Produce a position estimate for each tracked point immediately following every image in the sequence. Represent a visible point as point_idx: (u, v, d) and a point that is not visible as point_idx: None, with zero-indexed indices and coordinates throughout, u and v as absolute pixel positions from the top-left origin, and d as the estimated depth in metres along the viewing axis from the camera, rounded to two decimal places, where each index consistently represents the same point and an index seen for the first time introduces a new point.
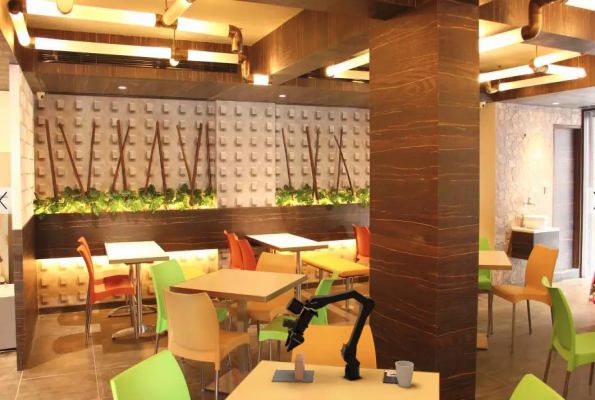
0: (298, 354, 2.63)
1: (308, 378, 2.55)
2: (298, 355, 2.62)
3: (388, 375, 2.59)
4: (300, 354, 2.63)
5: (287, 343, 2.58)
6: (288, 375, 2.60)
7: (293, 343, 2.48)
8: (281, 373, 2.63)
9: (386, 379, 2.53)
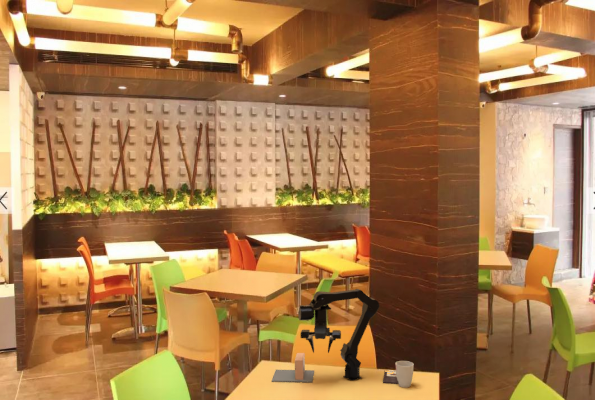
0: (298, 354, 2.63)
1: (308, 378, 2.55)
2: (298, 355, 2.62)
3: (388, 375, 2.59)
4: (300, 354, 2.63)
5: (313, 348, 2.55)
6: (288, 375, 2.60)
7: None
8: (281, 373, 2.63)
9: (386, 379, 2.53)
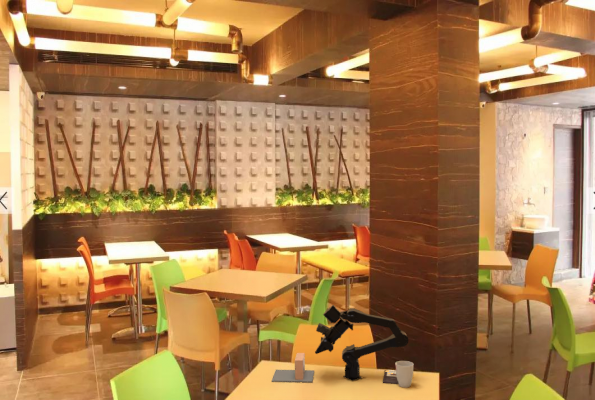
0: (298, 354, 2.63)
1: (308, 378, 2.55)
2: (298, 355, 2.62)
3: (388, 375, 2.59)
4: (300, 354, 2.63)
5: None
6: (288, 375, 2.60)
7: (322, 346, 2.57)
8: (281, 373, 2.63)
9: (386, 379, 2.53)
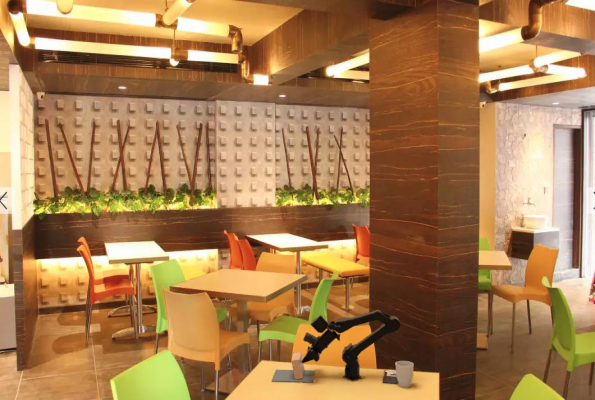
0: (295, 354, 2.63)
1: (308, 378, 2.55)
2: (295, 355, 2.62)
3: (388, 375, 2.59)
4: (297, 354, 2.63)
5: None
6: (288, 375, 2.60)
7: (309, 356, 2.58)
8: (281, 373, 2.63)
9: (386, 379, 2.53)
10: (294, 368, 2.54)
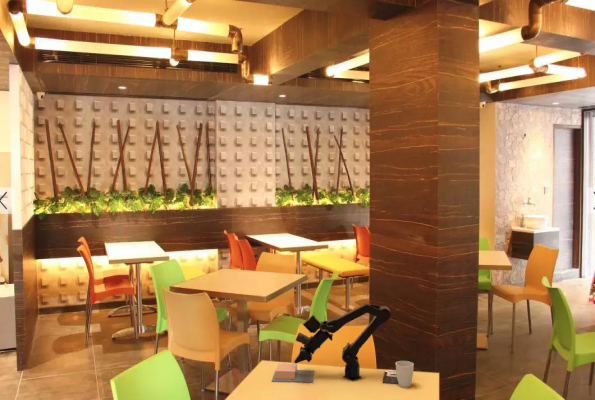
0: None
1: (308, 378, 2.55)
2: None
3: (388, 375, 2.59)
4: None
5: None
6: None
7: (301, 356, 2.58)
8: None
9: (386, 379, 2.53)
10: (283, 377, 2.54)
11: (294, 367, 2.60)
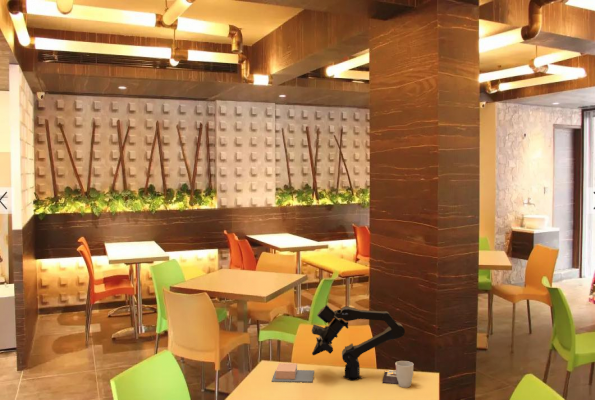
0: None
1: (308, 378, 2.55)
2: None
3: (388, 375, 2.59)
4: None
5: None
6: None
7: (320, 348, 2.57)
8: None
9: (386, 379, 2.53)
10: (283, 377, 2.54)
11: (294, 367, 2.60)
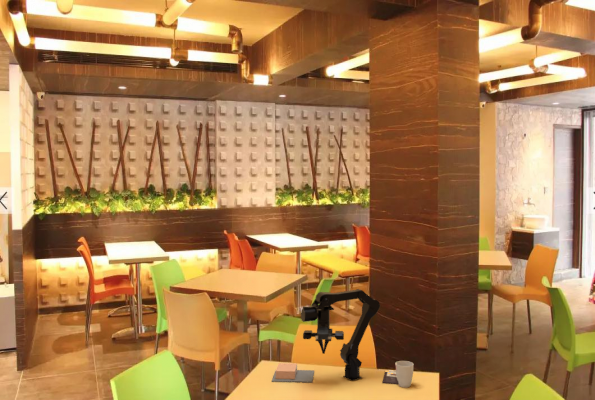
0: None
1: (308, 378, 2.55)
2: None
3: (388, 375, 2.59)
4: None
5: None
6: None
7: None
8: None
9: (386, 379, 2.53)
10: (283, 377, 2.54)
11: (294, 367, 2.60)
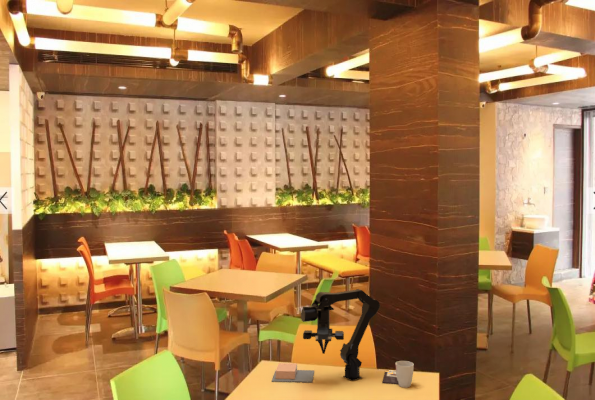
0: None
1: (308, 378, 2.55)
2: None
3: (388, 375, 2.59)
4: None
5: None
6: None
7: None
8: None
9: (386, 379, 2.53)
10: (283, 377, 2.54)
11: (294, 367, 2.60)
